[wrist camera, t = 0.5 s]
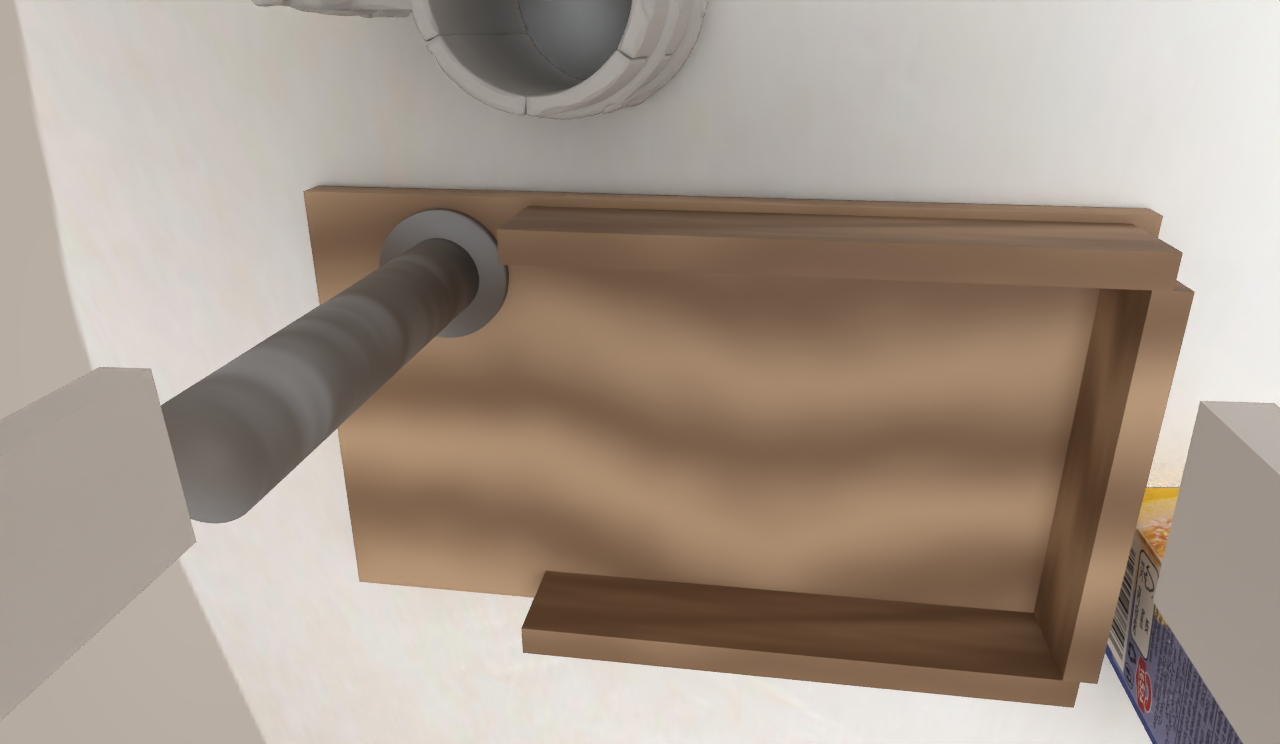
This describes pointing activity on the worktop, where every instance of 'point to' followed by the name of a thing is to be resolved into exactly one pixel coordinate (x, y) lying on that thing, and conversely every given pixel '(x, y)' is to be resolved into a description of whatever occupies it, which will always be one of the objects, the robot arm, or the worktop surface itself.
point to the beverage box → (1159, 643)
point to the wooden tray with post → (728, 423)
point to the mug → (537, 52)
